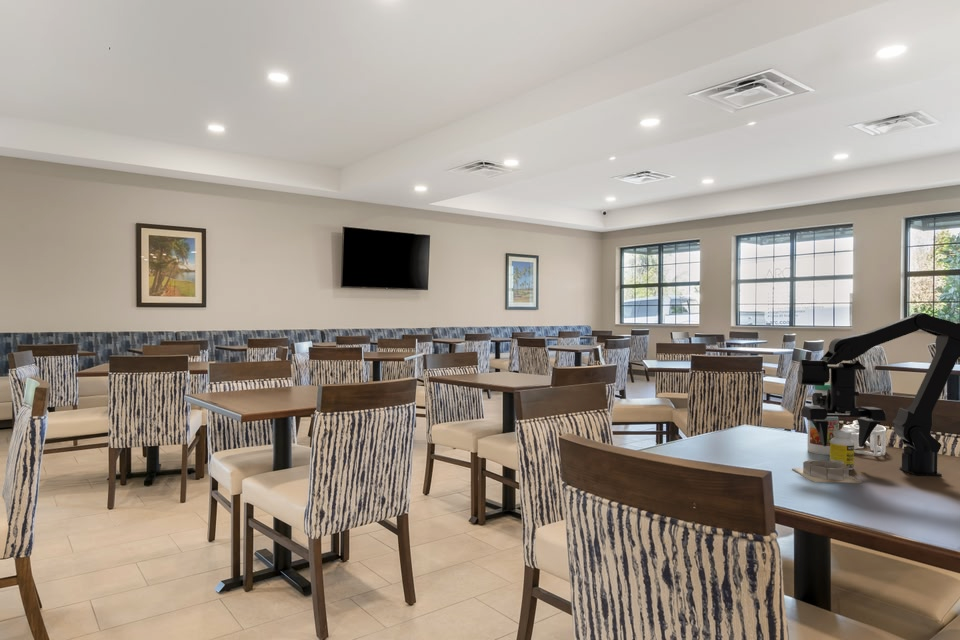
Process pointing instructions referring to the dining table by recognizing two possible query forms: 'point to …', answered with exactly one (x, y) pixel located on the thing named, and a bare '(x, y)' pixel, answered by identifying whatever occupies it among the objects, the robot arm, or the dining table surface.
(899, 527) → the dining table surface
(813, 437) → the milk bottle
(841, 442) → the supplement bottle
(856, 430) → the skeletal toy car
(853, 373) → the robot arm
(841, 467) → the octagonal ring stand
